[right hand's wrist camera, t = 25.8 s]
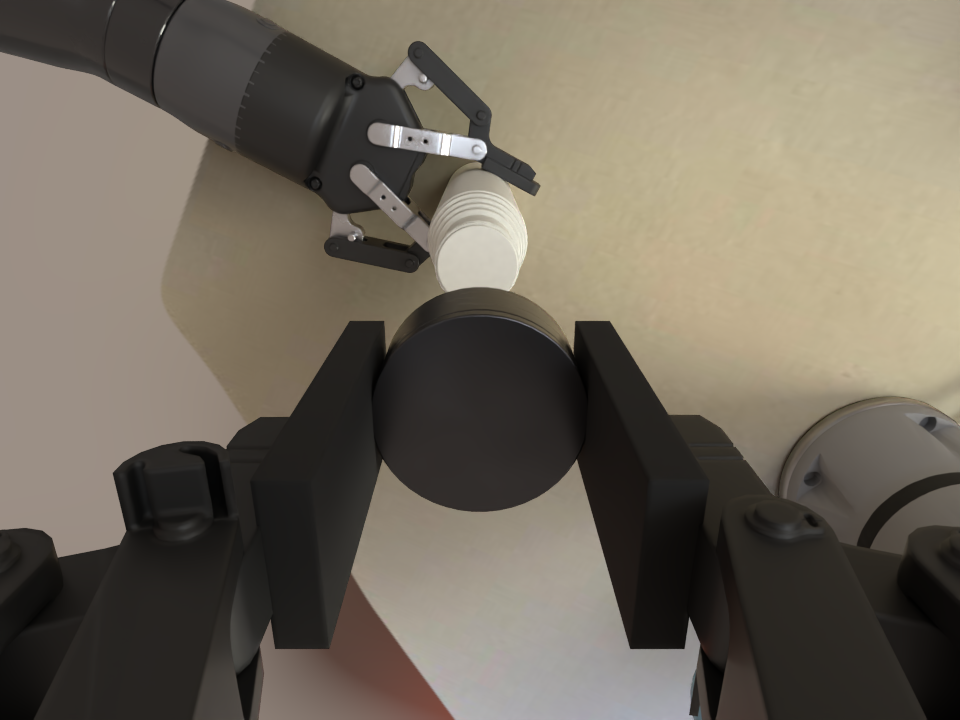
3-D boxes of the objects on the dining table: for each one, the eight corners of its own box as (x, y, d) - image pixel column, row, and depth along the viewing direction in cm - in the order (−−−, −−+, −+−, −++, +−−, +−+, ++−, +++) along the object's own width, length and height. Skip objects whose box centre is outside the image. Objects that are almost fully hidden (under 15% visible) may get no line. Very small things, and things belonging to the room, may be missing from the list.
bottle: (472, 148, 44) (465, 179, 23) (523, 189, 45) (561, 255, 24) (433, 201, 46) (393, 277, 24) (483, 240, 47) (487, 345, 25)
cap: (423, 482, 15) (415, 535, 13) (355, 320, 14) (335, 354, 12) (596, 432, 15) (613, 480, 13) (544, 260, 13) (555, 284, 11)
